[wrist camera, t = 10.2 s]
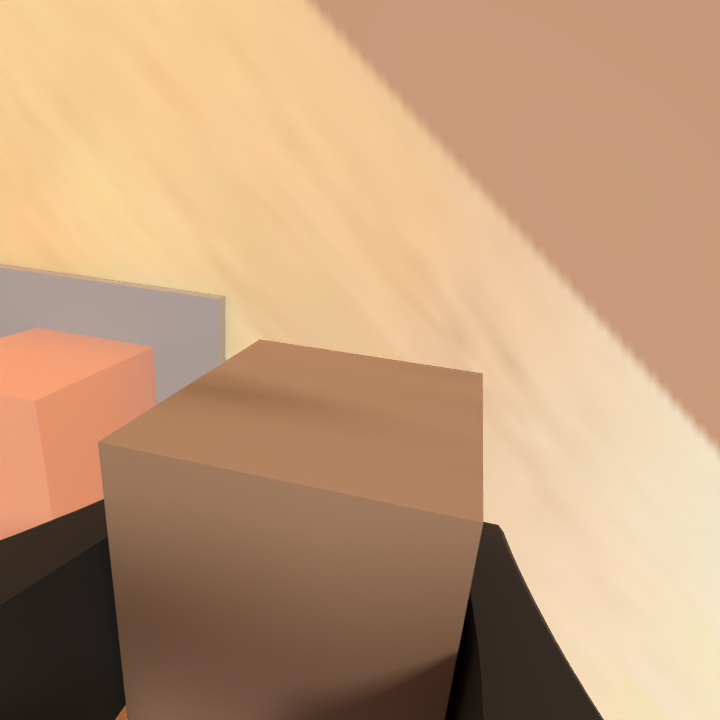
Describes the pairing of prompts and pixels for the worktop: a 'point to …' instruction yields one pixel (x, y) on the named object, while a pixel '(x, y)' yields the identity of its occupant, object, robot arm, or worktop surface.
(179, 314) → the baseplate
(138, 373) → the terracotta block
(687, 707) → the worktop surface
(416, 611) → the walnut block
